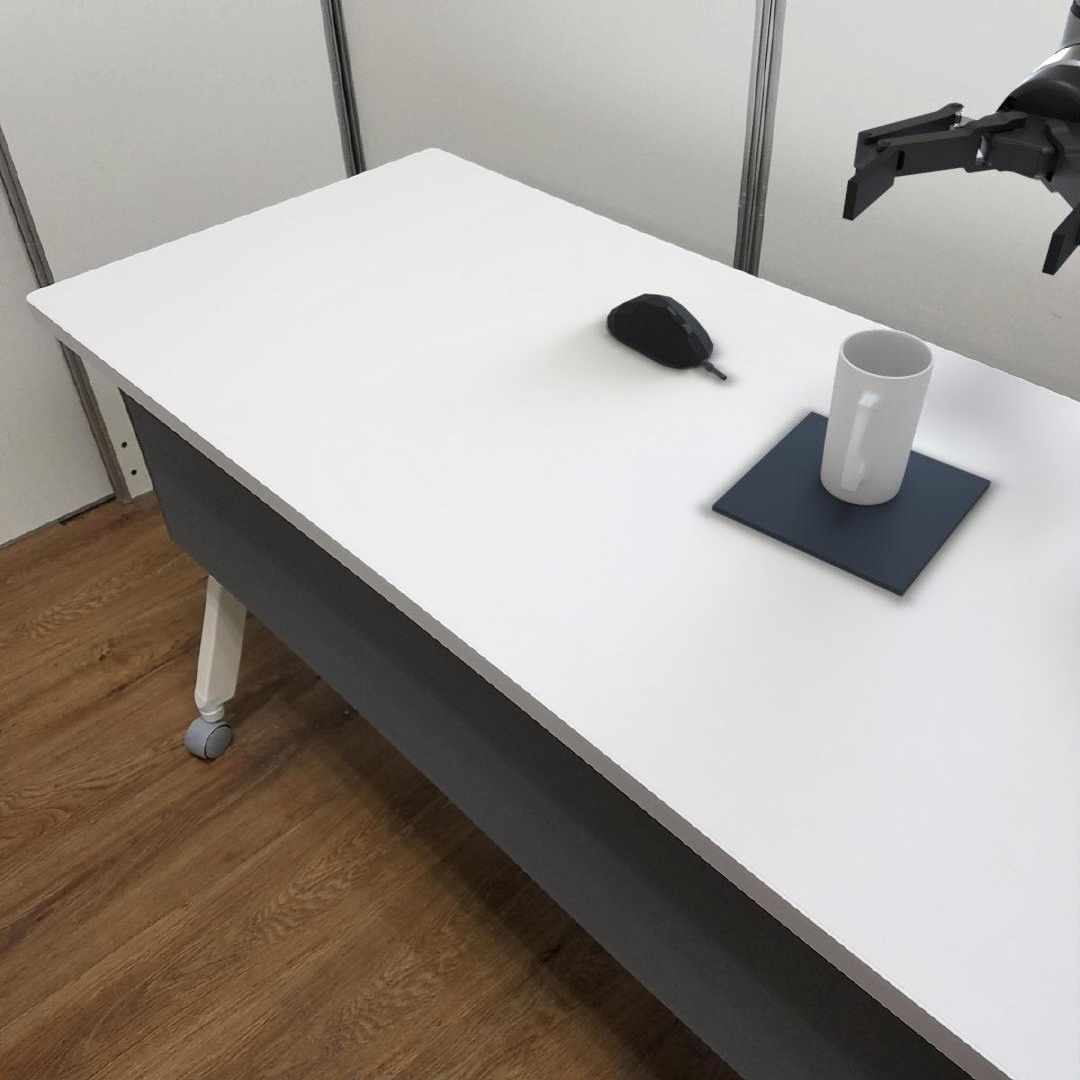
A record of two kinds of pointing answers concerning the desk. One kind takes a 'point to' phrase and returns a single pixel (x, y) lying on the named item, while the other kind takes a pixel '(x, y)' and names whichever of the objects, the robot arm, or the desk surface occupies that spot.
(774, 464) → the mat
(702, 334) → the gaming mouse
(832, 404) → the mug
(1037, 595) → the desk surface
